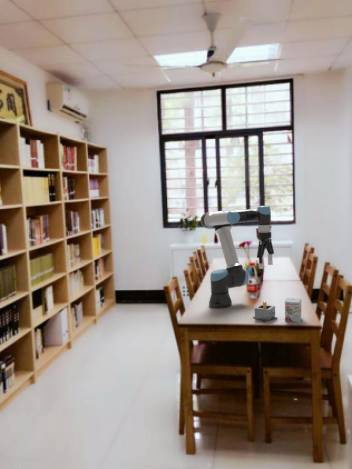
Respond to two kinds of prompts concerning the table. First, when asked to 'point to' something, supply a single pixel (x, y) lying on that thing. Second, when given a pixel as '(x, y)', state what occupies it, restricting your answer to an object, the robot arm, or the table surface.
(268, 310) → the link
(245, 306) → the table surface
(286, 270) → the table surface
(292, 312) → the ink box
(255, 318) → the post
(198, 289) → the table surface
